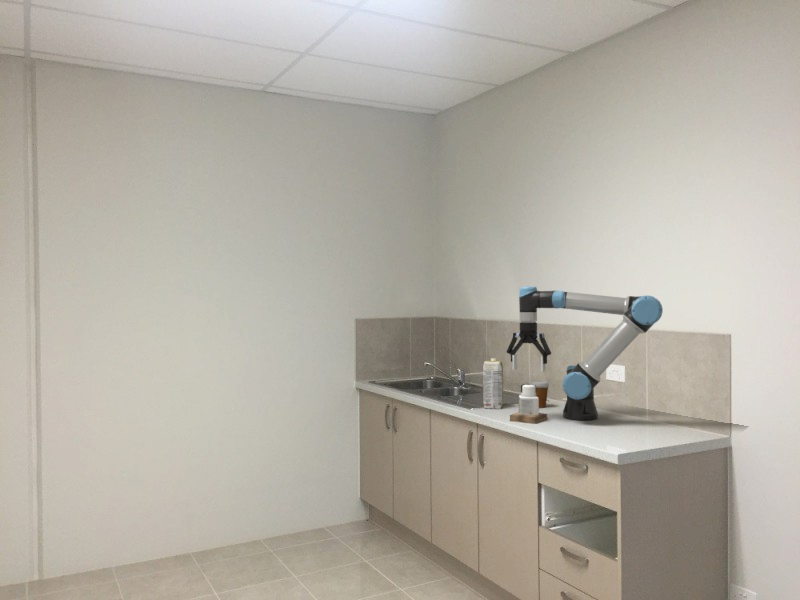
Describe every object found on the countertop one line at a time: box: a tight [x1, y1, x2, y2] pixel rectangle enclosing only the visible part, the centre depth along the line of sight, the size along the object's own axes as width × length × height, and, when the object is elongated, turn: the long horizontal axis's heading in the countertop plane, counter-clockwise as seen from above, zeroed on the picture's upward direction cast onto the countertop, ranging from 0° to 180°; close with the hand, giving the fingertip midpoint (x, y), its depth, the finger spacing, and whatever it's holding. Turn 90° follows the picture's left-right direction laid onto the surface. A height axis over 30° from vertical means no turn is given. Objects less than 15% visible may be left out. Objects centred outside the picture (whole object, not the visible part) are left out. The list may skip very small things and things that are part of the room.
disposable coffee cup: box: [529, 380, 550, 409], centre depth 340 cm, size 10×10×12 cm
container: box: [518, 383, 540, 415], centre depth 306 cm, size 8×8×13 cm
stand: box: [509, 411, 548, 425], centre depth 306 cm, size 12×12×3 cm
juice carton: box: [482, 357, 504, 410], centre depth 338 cm, size 9×8×24 cm
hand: (528, 370), depth 306 cm, fingers open, 13 cm apart
